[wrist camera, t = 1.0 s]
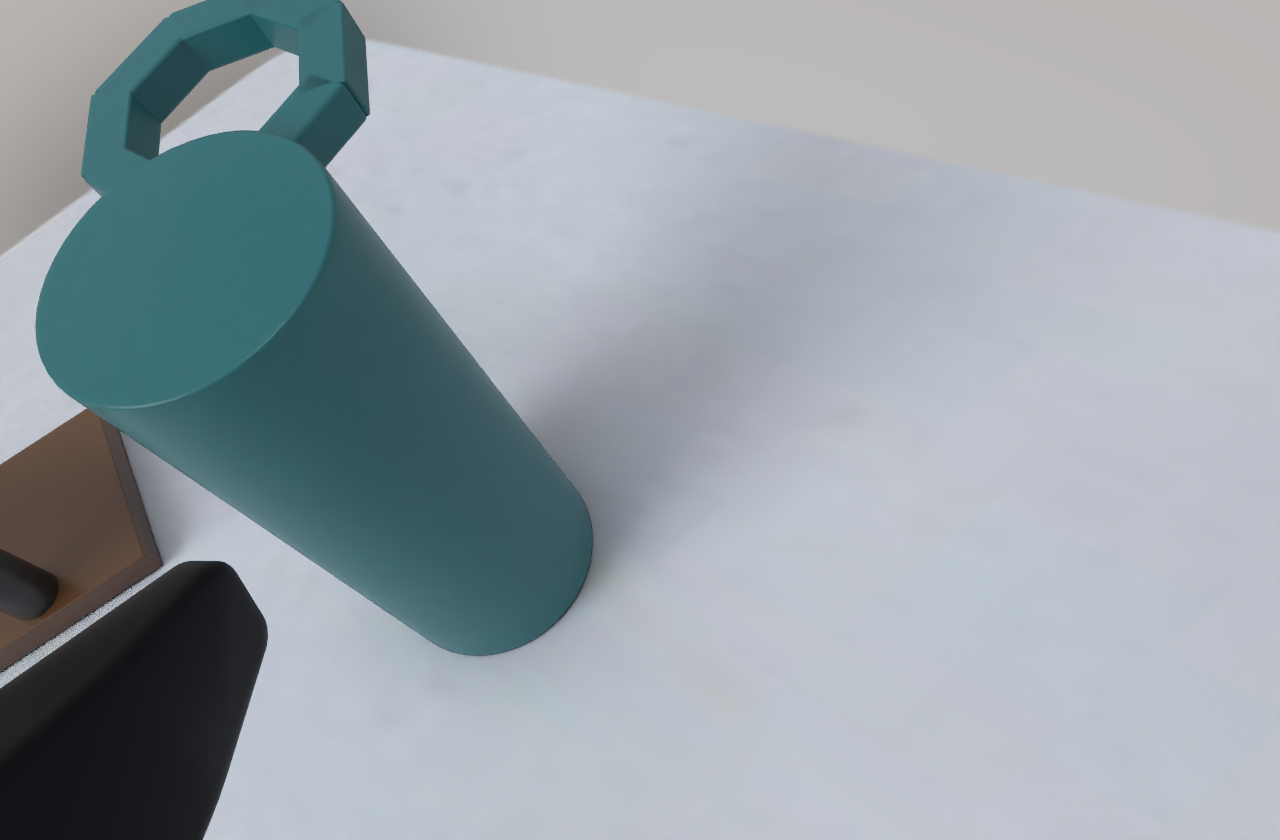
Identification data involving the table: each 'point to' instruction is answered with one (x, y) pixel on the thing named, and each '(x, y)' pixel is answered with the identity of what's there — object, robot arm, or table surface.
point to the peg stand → (67, 532)
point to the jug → (300, 342)
